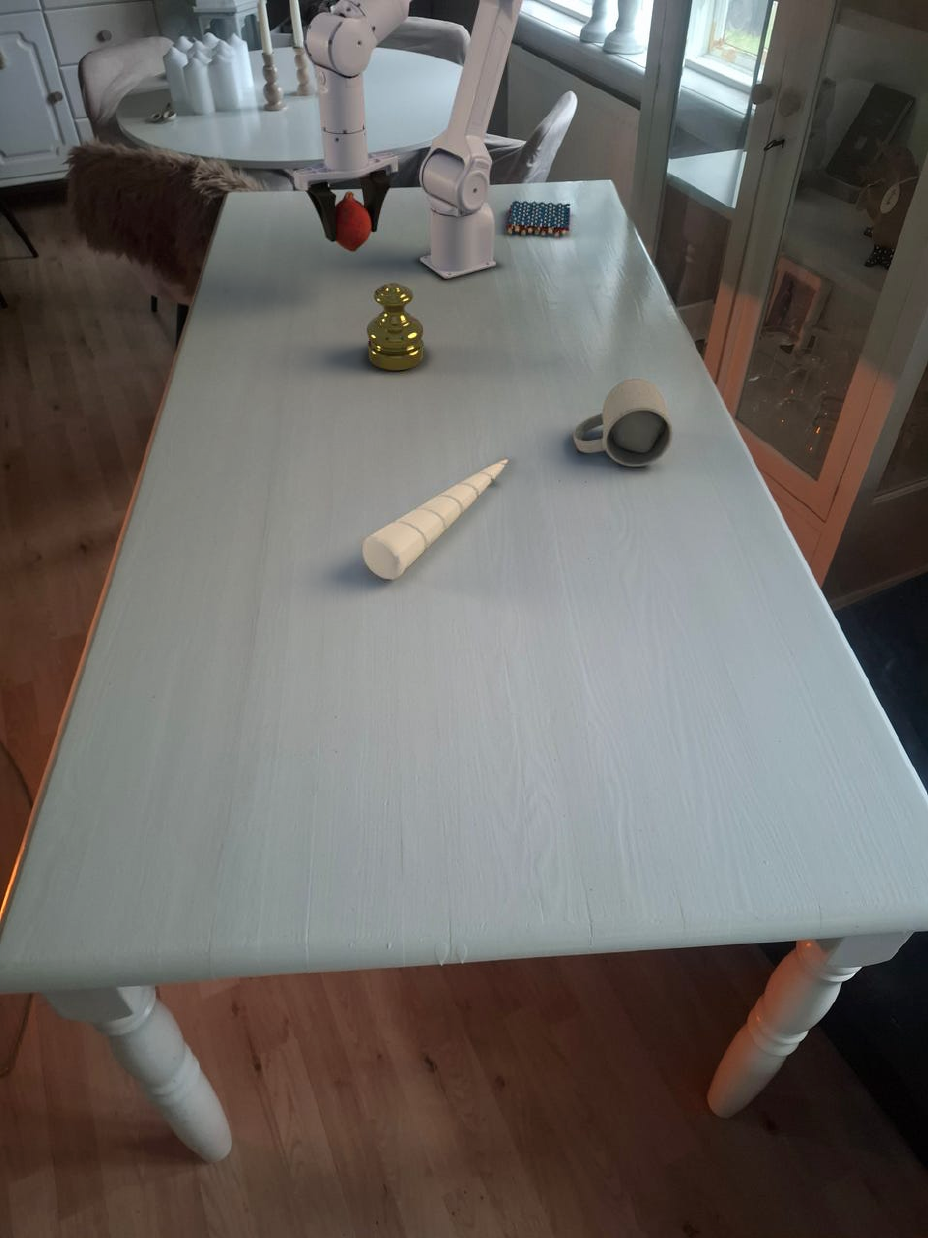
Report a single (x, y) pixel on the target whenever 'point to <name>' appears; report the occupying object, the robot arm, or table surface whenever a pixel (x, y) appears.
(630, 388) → the ceramic mug
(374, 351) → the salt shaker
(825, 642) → the table surface
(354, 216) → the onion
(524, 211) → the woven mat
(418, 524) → the unicorn horn
